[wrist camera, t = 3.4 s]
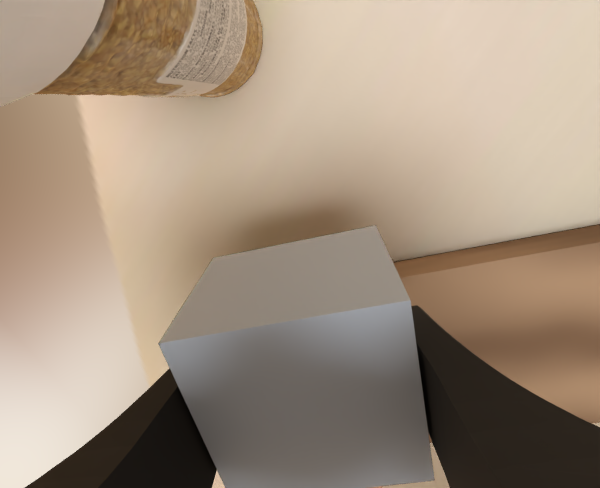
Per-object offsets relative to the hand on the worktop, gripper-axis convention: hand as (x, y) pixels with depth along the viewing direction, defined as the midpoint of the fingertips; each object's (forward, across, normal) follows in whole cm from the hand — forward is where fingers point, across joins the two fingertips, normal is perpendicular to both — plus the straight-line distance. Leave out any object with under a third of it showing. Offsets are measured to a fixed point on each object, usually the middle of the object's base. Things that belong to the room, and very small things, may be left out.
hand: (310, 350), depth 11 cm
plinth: (+8, -9, +7) cm, 14 cm away
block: (+2, 0, 0) cm, 2 cm away
